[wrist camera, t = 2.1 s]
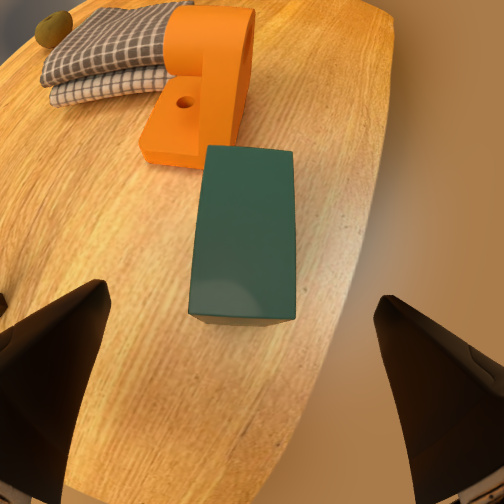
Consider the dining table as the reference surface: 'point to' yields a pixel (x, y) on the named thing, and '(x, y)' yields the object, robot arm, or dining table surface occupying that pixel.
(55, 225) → the dining table surface
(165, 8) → the towel
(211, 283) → the dark green block
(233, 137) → the bracket
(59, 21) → the apple
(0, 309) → the dark pull handle
